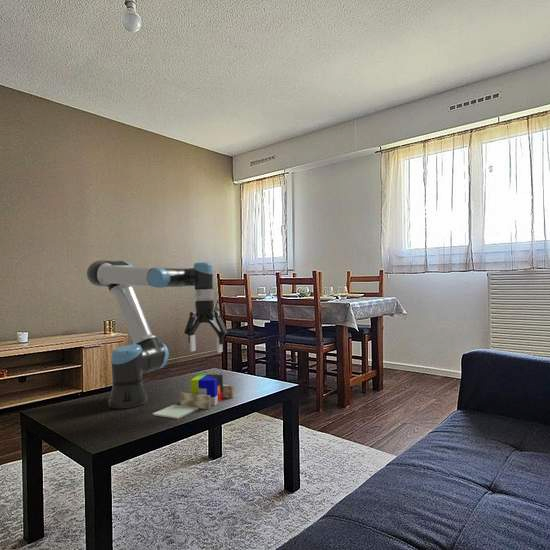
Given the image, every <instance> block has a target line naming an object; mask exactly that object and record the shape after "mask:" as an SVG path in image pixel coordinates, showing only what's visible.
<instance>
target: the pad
mask: <svg viewBox="0 0 550 550" xmlns="http://www.w3.org/2000/svg"><path fill="white" fill-rule="evenodd" d="M198 410H199V408H196V407H189V406H181V405H180V404H172V405H170V406H167V407H164V408H162V409H160V410H158V411H155V412H153V413H152V416H156V417H163V418H168V419H169V418H170V419H175V420H179V419H180V418H183V417H186V416H187V415H190V414H191V413H193V412H195V411H198Z"/></svg>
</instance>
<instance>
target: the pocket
mask: <svg viewBox="0 0 550 550" xmlns="http://www.w3.org/2000/svg"><path fill="white" fill-rule="evenodd" d="M225 397H226V398H225ZM223 398H225V399H233V398H234V385H231V384H230V385H229V384H223ZM179 400H180V402H179V403H180V404H179V405H181V406H189V407H196V408H198V409H205V410H211V409H212V407H211V406H212V405H211V398H210V395H202V394H193V393H191V392H183V391H182V392H180V393H179Z"/></svg>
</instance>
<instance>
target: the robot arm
mask: <svg viewBox="0 0 550 550" xmlns="http://www.w3.org/2000/svg"><path fill="white" fill-rule="evenodd" d="M86 277H87V279H88V282H90V283H91V284H92V285H93V286H97V287H107V288H108V291H109V293H110V294H112V295H114V296H115V298H116V300H117V301H116V302H117V304H118V307H119V308H120V311H121V314H122V317H123V319H124V322H125V324H126V326H127V329H128V332H129V335H130V337H131V339H132V342H133V343H131V344H127V345H122V346H119V347H116V348H115V349H113V350H112V353H111V360H110V361H111V375H112V376H111V377H112V383H111V384H112V388H111V392H110V394H109V398H108V403H107V404H108V407H109V408H110V409H116V410H117V409H119V410H121V409H122V410H123V409H129V408H136V407H139V406H143V405H145V404H146V403H147V402H148V395H147V393H146V389H145V387H144V385H143V384H144V383H143V374H147V373H150V372H155V371H157V370H159V369H161V368H164V367H165V366H166V365H167V362H168V359H169V356H170V355H169V349H168V347H167V345H166V344H165V343H163V342H160V341H159V339H158V336H156V335H153V334H152V331H151V329H150V325H149V324H148V321H147V318H146V315H145V313H144V311H143V309H142V306H141V303H140V301H139V299H138V296H137V294H136V291H135V289H134V288H135V287H136V286H142V287H143V286H144V287H145V286H146V287H153V288H158V289H161V288H174V287H177V288H178V287H179V288H181V287H194V299H195V302H194V303H195V305H194V306H195V310H196V311H190V312H189V318H188V321H187V323H186V327H185V329H184V331H183V333H184V334H185V335H188V343H189V351H190V352H195V351H196V350H197V348H196V347H197V345H196V334H195V333H196V331H197V330H198V328H199V327H200V325H201V324H202V323H203V324H204V323H205V324H206V323H207V324H209V325H210V326H211V328H212V329H213V330H214V332H215V333H216V334H217V336H216V353H217V354H220V353H222V352H224V351H223V349H224V348H223V345H224V343H225V339H224V336H226V335H228V329H227V328H226V325H225V323H224V321H223V318H222V315H221V311H214V308H215V304H214V303H215V302H214V300H213V299H214V297H215V296H214V282H213V281H214V279H213V278H214V273H213V265H212V263H211V262H208V261H207V262H206V261H205V262H195V263H194V264H193V267H191V268H172V267H171V268H167V267H146V266H145V267H144V266H134V265H133V264H131V263H130V262H128V261H123V260H97V261H93V262H92V263H91V264H90V265H88V267H87V269H86Z"/></svg>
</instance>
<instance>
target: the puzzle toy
mask: <svg viewBox="0 0 550 550" xmlns="http://www.w3.org/2000/svg"><path fill="white" fill-rule="evenodd" d="M223 381H224V380H223V374H198V375H196V376H195V377H193V378H192V379H190V393H193V394H202V395H210V398H211V406H216V405H217V404H219V403H220V402H221V401H222V400H223V399H224V397H223V385H224V384H223V383H224V382H223ZM219 401H220V402H219Z"/></svg>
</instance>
